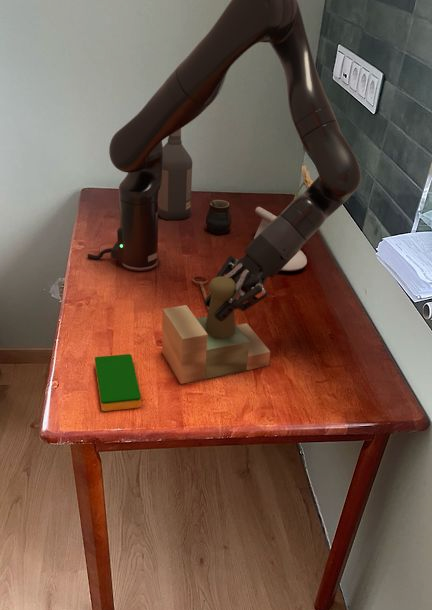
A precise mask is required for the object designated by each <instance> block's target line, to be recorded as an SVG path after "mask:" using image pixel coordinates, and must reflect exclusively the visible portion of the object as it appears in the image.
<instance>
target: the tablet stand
mask: <svg viewBox="0 0 432 610" xmlns="http://www.w3.org/2000/svg"><path fill="white" fill-rule="evenodd" d="M254 213H255V214H256V215H257V216H258V217H261V221H260V223H259V226H258V228H257V230H256V233H255V235H254V237H253V240H254V239H255V238H256V237H257V236H258V235H259V234H260V233H261V232H262V231H263V230H264V229H265V228H266V226H267V225H268V224H269V223H270V222H272V221H273V220H274V219H275V218H277V217H278V216H276V215H274V214H273V213H271V212H270V211H268V210H266V209H264V208H262V207H261V206H257V207H256V208H255V209H254Z"/></svg>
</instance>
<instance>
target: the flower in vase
mask: <svg viewBox="0 0 432 610" xmlns="http://www.w3.org/2000/svg"><path fill="white" fill-rule="evenodd" d="M301 174H302V175H301V176H302V179H303V182H302V183H301V185H300V186H299V188H298V189H297V191H296V193H295V195H294V198H293V200H294V199H296V198H297V197H298V196H299V195H298V194H299V192H300V191H301V189H302V188H303V186H305V188H306V190H307V189H308V187H309V186H310V185H311V184H312V183H313V182H314V180H313V179H311V174H310V170H307V166H306V165H302V166H301ZM307 262H308V260H307V256H306V254H304V252H303V251H302V250H301V249H300V250H299V251H298V253H297V254H296V255H295V256H294V257H293V258H292V259H291V260H290V261H289V262H288V263H287V264H286V265H285V266H284V267H283V268H282V269H281V270H280V271H282V272H294V271H299V270H302V269H303V268H305V266H306V265H307Z"/></svg>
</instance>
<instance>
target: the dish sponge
mask: <svg viewBox="0 0 432 610" xmlns="http://www.w3.org/2000/svg"><path fill="white" fill-rule="evenodd" d="M132 355H133V354H130V353H124V354H113V355H103V356H102V355H101V356H95V357H94V368H95V373H96V381H97V387H98V394H99V395H98V396H99V401H100V409H101V411H102V412H109V411H120V410H127V409H139V408H141V407H142V395H141V392H140V387H139V382H138V378H137V373H136V370H135V365H134V360H133V356H132Z"/></svg>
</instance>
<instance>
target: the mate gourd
mask: <svg viewBox="0 0 432 610" xmlns="http://www.w3.org/2000/svg"><path fill="white" fill-rule="evenodd" d="M209 201H210V202H209V208H208V211H207V213H206V216H205V225H206V227H207V229H208V230H209V231H210V232H211V233H212V234H217V235H218V234H219V235H221V234H225V233H228V232H229V230H230V228H231V226H232V221H233V220H232V215H231V212H230V206H231V204H230V202H228V201H226V200H223V199H209Z"/></svg>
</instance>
